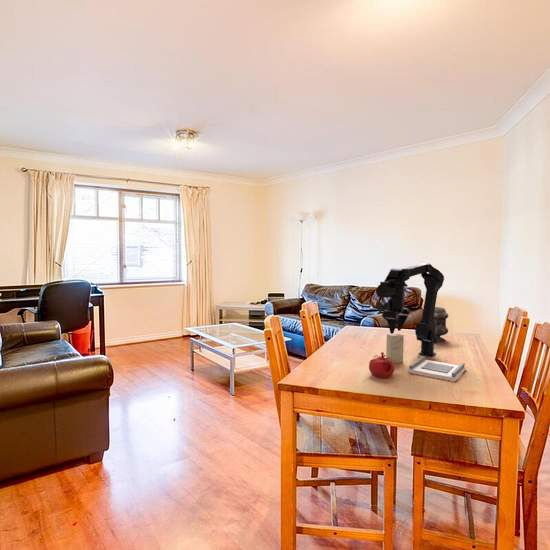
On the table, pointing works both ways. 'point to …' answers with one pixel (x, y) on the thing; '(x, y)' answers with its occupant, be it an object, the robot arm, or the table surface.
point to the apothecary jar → (440, 322)
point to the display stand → (437, 369)
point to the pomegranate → (381, 366)
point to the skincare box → (395, 347)
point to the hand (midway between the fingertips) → (395, 332)
